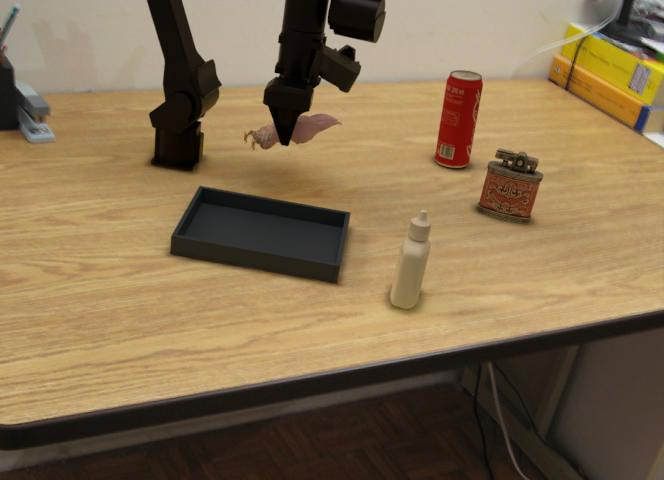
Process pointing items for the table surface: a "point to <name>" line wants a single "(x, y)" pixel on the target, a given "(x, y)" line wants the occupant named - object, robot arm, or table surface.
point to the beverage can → (458, 118)
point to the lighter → (510, 187)
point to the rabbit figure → (302, 131)
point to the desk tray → (262, 234)
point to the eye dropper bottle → (411, 263)
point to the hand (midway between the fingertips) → (288, 135)
